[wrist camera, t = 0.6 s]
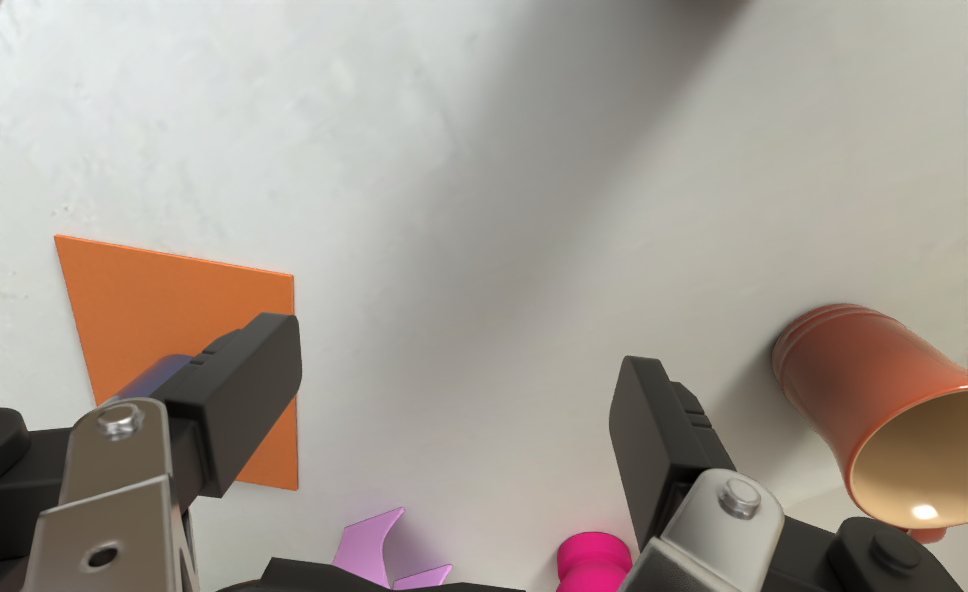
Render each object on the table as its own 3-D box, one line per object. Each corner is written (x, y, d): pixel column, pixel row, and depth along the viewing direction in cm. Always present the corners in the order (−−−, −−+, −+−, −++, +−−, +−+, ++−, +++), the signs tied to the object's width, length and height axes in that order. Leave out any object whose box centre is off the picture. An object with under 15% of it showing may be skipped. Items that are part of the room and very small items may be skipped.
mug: (746, 305, 30) (845, 408, 21) (900, 270, 28) (1082, 366, 19) (761, 446, 35) (847, 581, 26) (894, 423, 33) (1038, 559, 24)
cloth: (57, 234, 32) (53, 235, 31) (292, 275, 32) (290, 276, 31) (112, 456, 40) (110, 458, 40) (297, 488, 40) (296, 491, 40)
